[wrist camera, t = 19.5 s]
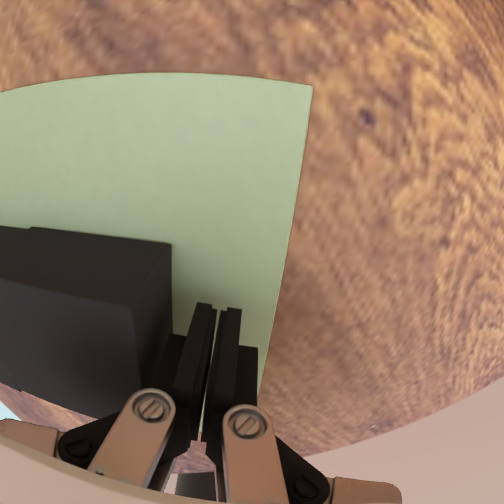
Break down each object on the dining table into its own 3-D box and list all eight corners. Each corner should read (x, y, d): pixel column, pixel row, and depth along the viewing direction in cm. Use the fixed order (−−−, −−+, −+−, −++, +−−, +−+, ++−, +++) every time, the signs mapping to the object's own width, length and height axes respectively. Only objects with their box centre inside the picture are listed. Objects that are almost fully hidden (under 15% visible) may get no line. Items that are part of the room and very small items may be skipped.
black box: (175, 363, 13) (153, 434, 10) (56, 335, 13) (19, 389, 10) (172, 242, 11) (131, 308, 7) (31, 225, 11) (-30, 269, 7)
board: (248, 430, 17) (246, 473, 14) (6, 369, 16) (-14, 397, 14) (310, 86, 9) (331, 78, 6) (-53, 109, 9) (-94, 119, 6)
